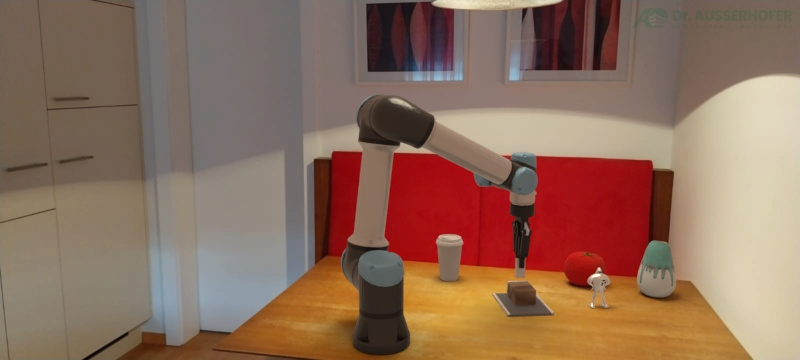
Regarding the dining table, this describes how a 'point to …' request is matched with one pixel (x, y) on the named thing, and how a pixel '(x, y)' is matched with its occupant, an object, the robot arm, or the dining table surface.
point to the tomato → (582, 267)
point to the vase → (657, 271)
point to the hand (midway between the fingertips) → (519, 277)
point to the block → (521, 293)
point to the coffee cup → (449, 256)
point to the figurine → (598, 286)
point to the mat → (522, 306)
